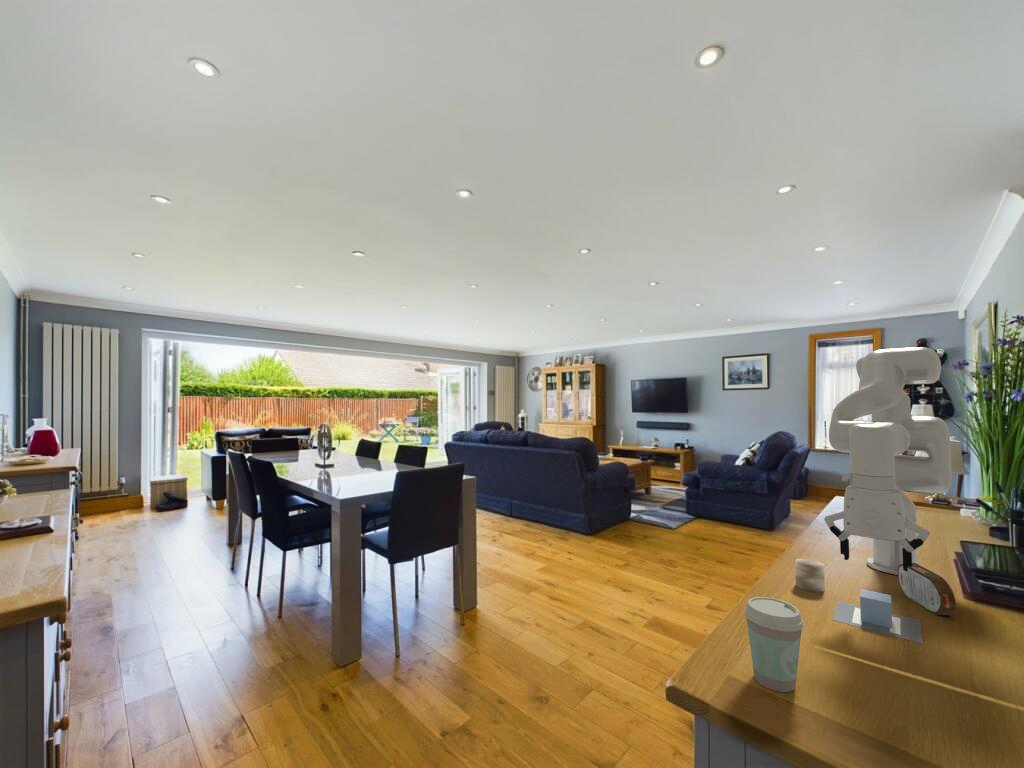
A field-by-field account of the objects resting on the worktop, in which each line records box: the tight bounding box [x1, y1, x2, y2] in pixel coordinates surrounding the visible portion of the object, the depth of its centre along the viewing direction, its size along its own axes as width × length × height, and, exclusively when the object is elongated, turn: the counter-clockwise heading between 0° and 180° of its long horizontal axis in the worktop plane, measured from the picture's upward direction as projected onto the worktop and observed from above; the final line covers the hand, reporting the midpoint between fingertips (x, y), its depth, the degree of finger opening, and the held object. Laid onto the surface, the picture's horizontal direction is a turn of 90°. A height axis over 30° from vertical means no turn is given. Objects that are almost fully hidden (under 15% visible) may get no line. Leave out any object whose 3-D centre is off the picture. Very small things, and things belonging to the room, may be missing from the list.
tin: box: [897, 563, 957, 617], centre depth 101 cm, size 15×3×8 cm, turn 168°
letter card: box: [832, 600, 924, 644], centre depth 93 cm, size 12×14×1 cm
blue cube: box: [859, 588, 893, 629], centre depth 93 cm, size 5×5×5 cm
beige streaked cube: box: [794, 558, 826, 594], centre depth 110 cm, size 6×6×6 cm
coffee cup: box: [743, 596, 805, 693], centre depth 73 cm, size 8×9×12 cm
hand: (875, 563), depth 94 cm, fingers open, 9 cm apart
